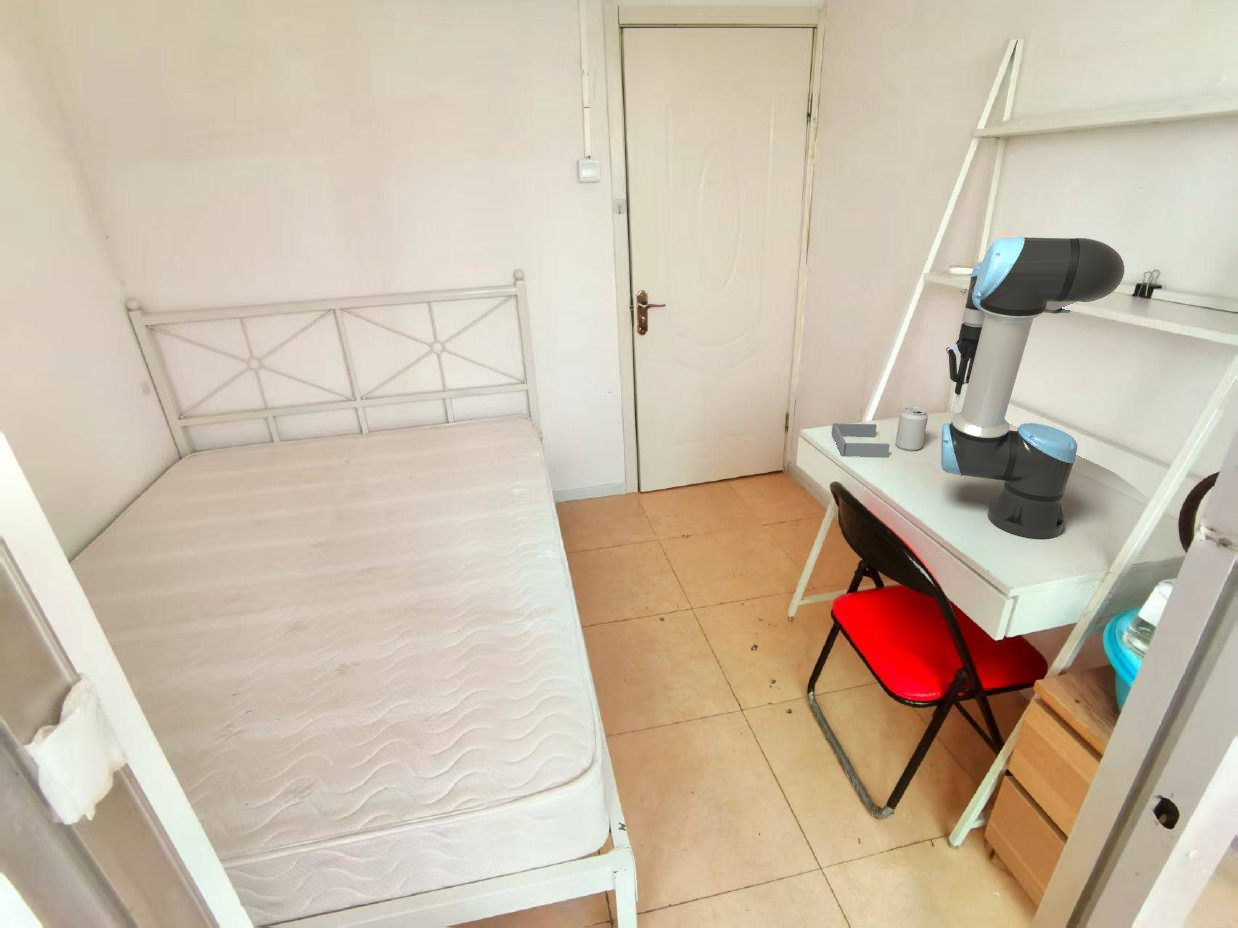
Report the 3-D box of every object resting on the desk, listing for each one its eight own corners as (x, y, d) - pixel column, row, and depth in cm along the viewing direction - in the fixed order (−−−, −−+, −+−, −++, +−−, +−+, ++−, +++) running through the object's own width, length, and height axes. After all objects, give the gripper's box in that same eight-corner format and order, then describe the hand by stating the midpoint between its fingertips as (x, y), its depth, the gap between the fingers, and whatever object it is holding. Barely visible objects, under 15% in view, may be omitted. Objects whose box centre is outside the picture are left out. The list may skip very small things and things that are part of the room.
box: (887, 457, 182) (889, 444, 181) (841, 456, 184) (842, 444, 182) (874, 435, 197) (875, 424, 195) (831, 435, 198) (832, 423, 197)
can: (908, 453, 184) (915, 415, 179) (889, 444, 191) (895, 407, 185) (927, 449, 187) (935, 411, 182) (908, 440, 193) (914, 403, 188)
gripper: (996, 320, 174) (978, 400, 184) (947, 320, 175) (931, 399, 186) (1008, 326, 167) (988, 409, 178) (956, 327, 169) (940, 409, 179)
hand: (959, 404), depth 182 cm, fingers closed
